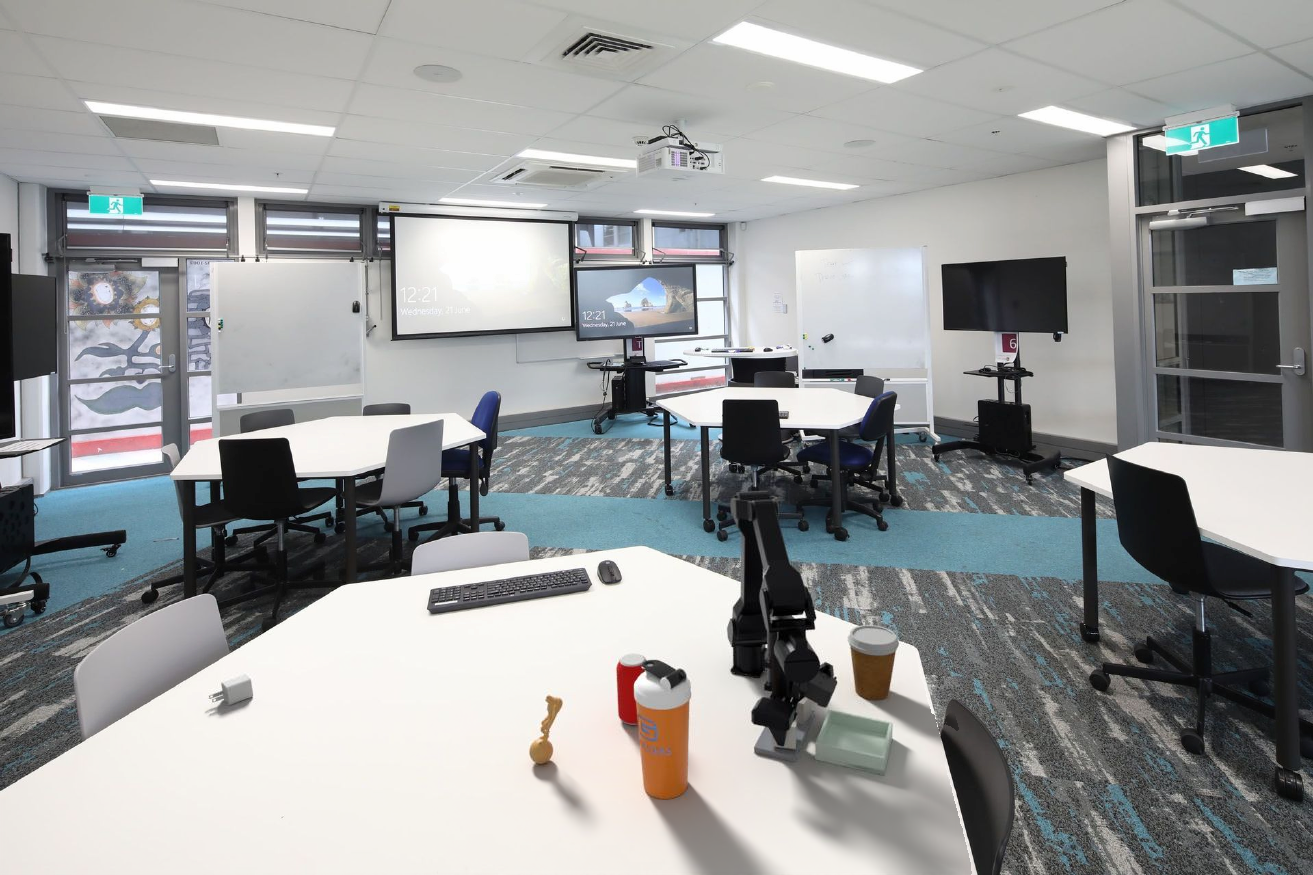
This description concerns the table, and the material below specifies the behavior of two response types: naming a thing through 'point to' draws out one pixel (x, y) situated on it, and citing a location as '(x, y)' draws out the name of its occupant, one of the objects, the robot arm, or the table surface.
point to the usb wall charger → (235, 690)
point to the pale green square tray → (854, 742)
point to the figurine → (545, 733)
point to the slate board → (788, 754)
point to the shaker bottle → (663, 728)
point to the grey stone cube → (804, 710)
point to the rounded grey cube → (789, 737)
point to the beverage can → (628, 686)
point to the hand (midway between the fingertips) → (784, 737)
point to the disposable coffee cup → (872, 660)
